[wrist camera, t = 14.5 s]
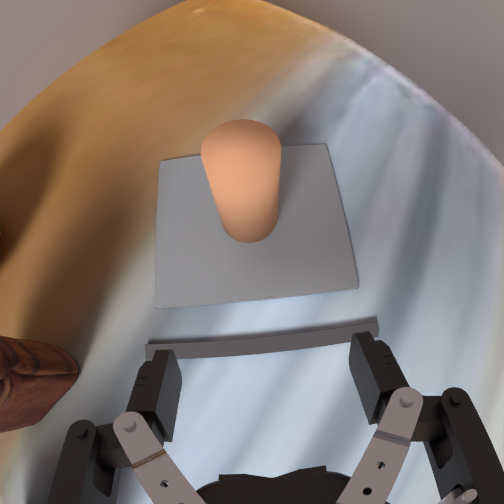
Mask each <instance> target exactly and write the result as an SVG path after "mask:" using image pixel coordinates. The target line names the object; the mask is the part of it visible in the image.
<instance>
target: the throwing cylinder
mask: <svg viewBox="0 0 504 504" xmlns="http://www.w3.org/2000/svg"><path fill="white" fill-rule="evenodd" d="M201 159H202V162H203V165H204V169H205V172H206V175H207V178H208V181H209V184H210V188H211V191H212V194H213V197H214V200H215V203H216V206H217V210H218V213H219V216H220V219H221V222H222V225H223V228H224V230H225V231H226V233H227V234H228V235H229V236H230V237H231V238H233V239H235V240H237V241H239V242H243V243H254V242H258V241H261V240H263V239H265V238H266V237H267V236H269V235H270V234H271V233H272V231H273V230H274V228H275V226H276V223H277V213H278V197H279V180H280V163H281V143H280V140H279V138H278V136H277V135H276V133H275V132H274V131H273V130H272V129H271V128H270V127H268V126H267V125H265V124H263V123H260V122H257V121H253V120H233V121H229V122H226V123H224V124H222V125H219V126H218V127H216V128H215V129H213V130H212V131H211V132H210V133H209V134H208V135H207V137H206V138H205V140H204V141H203V144H202V147H201Z"/></svg>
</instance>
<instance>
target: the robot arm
mask: <svg viewBox="0 0 504 504" xmlns="http://www.w3.org/2000/svg"><path fill="white" fill-rule="evenodd" d="M349 367H350V371H351V374H352V376H353V379H354V382H355V385H356V388H357V390H358V393H359V396H360V399H361V402H362V405H363V408H364V411H365V414H366V417H367V419H368V422H369V425H371V424H376V423H377V425H378V428H377V430H376V432H375V433H374V435H373V437H372V439H371V441H370V443H369V445H368V447H367V449H366V451H365V453H364V455H363V457H362V459H361V461H360V462H359V464H358V466H357V468H356V470H355V472H354V473H353V475H352V477H349V476H347V475H344V474H341V473H337V472H329V471H327V470H326V465H325V466H319V467H312V468H305V469H299V470H296V471H293V472H290V473H287V474H284V475H281V476H278V477H275V478H268V477H261V476H254V475H248V474H227V475H219V481H215V482H212V483H209V484H207V485H205V486H203V487H201V488H199V489H198V490H197V491H195V490H194V488H193V487H192V486H191V485H190V483H189V482H188V481H187V480H186V478H185V477H184V476H183V474H182V473H181V472H180V470H179V469H178V468H177V466H176V465H175V464H174V462H173V461H172V459H171V458H170V457H169V455H168V454H167V452H166V451H165V450H164V449H163V445H164V442H172V439H173V433H174V427H175V421H176V415H177V409H178V403H179V397H180V391H181V386H182V376H181V371H180V368H179V365H178V362H177V360H176V357H175V354H174V351H173V350H172V349H160V350H156V351H155V353H154V356H153V360H152V361H145V363H144V364H143V365H142V366H141V367H140V368H139V371H138V374H137V379H136V381H135V384H134V385H135V386H134V387H133V390H132V393H131V396H130V400H129V403H128V406H127V409H126V412H125V413H123V414H121V415H119V416H118V417H117V418H116V420H115V421H114V423H111V424H106V425H101V426H95V425H94V424H93V423H92V422H91V421H88V420H79V421H76V422H75V423H73V424H72V425H71V426H70V428H69V430H68V433H67V436H66V439H65V442H64V445H63V449H62V452H61V455H60V459H59V462H58V465H57V469H56V473H55V476H54V480H53V484H52V488H51V492H50V496H49V500H48V504H116V497H117V490H118V484H119V477H120V471H121V467H127V466H132V469H133V471H134V473H135V474H136V476H137V478H138V479H139V481H140V483H141V484H142V486H143V487H144V489H145V491H146V492H147V494H148V495H149V497H150V498H151V500H152V501H153V503H154V504H390V503H388V502H387V501H386V500H387V498H388V496H389V494H390V492H391V490H392V487H393V485H394V483H395V481H396V479H397V476H398V474H399V472H400V469H401V467H402V465H403V462H404V460H405V457H406V455H407V452H408V450H409V447H410V444H411V442H415V441H423V443H424V446H425V449H426V452H427V455H428V458H429V461H430V464H431V467H432V471H433V474H434V477H435V480H436V484H437V487H438V491H439V494H440V498H441V501H440V502H439V503H438V504H504V471H503V468H502V466H501V463H500V461H499V459H498V456H497V454H496V452H495V449H494V447H493V445H492V442H491V440H490V438H489V436H488V434H487V432H486V429H485V427H484V425H483V423H482V421H481V419H480V417H479V415H478V413H477V411H476V409H475V407H474V405H473V403H472V401H471V399H470V397H469V395H468V394H467V393H466V392H465V391H464V390H463V389H460V388H456V387H452V388H448V389H447V390H445V391H444V392H443V394H442V396H423V395H421V394H420V392H419V391H417V390H416V389H413V388H410V386H409V385H408V383H407V381H406V379H405V377H404V375H403V373H402V371H401V369H400V367H399V365H398V363H397V361H396V359H395V357H394V356H393V353H392V351H391V350H390V348H389V346H388V345H386V344H385V343H384V342H383V341H382V340H377V341H375V340H374V338H373V336H372V334H371V333H370V331H364V332H358V333H353V334H352V339H351V346H350V353H349Z"/></svg>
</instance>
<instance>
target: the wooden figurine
mask: <svg viewBox="0 0 504 504" xmlns="http://www.w3.org/2000/svg"><path fill="white" fill-rule="evenodd" d="M77 378H78V366H77V363H76V362H75V360H74V359H73V358H72V357H70V356H69V355H68V354H67V353H65V352H64V351H62V350H61V349H59V348H57V347H55V346H52V345H49V344H45V343H41V342H36V341H30V340H22V339H15V338H9V337H4V336H0V433H1V432H7V431H12V430H17V429H20V428H23V427H27V426H30V425H34V424H36V423H38V422H39V421H40V420H41V419H42V418H43V417H44V416H45V415H46V413H47V412H48V411H49V410H50V409H51V408H52V407H53V405H54V404H55V403H56V402H57V401H58V400H59V399H60V398H61V397H63V395H64V394H65V393H66V392H67V391H68V390H69V389H70V388H71V386H72V385H73V384H74V383H75V381H76V380H77Z"/></svg>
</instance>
